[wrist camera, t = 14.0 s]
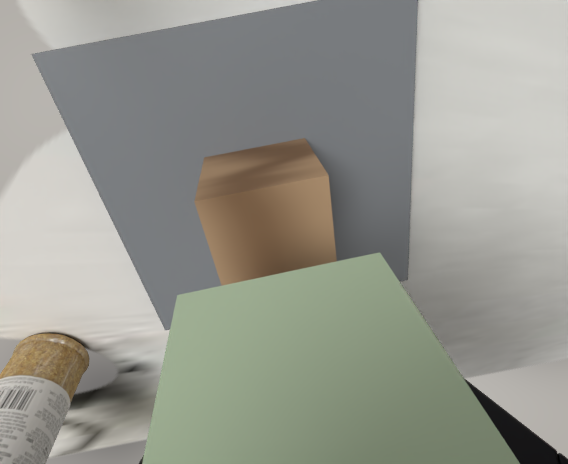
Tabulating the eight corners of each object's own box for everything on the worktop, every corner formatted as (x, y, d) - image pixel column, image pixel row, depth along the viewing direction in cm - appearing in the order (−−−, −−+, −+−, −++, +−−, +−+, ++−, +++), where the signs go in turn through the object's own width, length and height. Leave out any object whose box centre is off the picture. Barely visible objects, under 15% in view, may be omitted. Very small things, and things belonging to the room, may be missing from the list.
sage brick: (379, 252, 8) (532, 481, 4) (382, 379, 11) (478, 603, 7) (177, 295, 8) (118, 578, 4) (227, 414, 11) (225, 663, 7)
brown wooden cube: (304, 137, 17) (328, 175, 13) (315, 224, 20) (338, 279, 15) (204, 157, 17) (194, 201, 13) (228, 242, 19) (227, 302, 15)
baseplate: (407, -16, 15) (418, -19, 14) (401, 270, 23) (407, 279, 23) (42, 52, 15) (31, 54, 14) (167, 319, 23) (165, 330, 22)
